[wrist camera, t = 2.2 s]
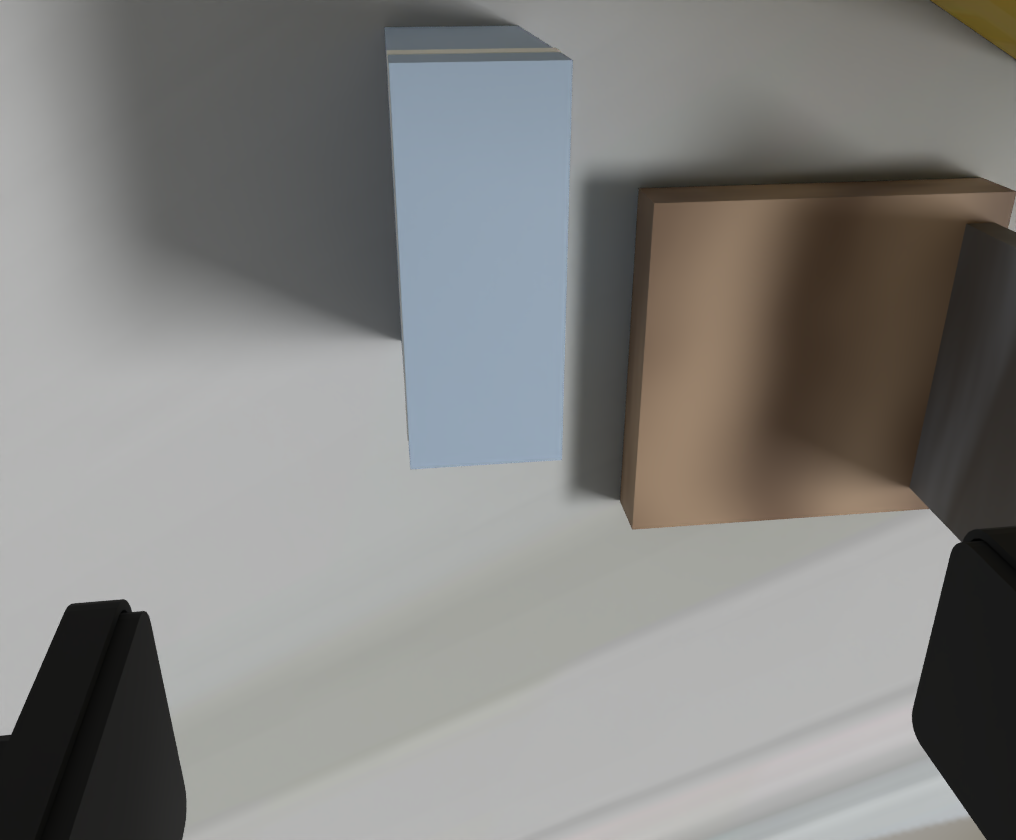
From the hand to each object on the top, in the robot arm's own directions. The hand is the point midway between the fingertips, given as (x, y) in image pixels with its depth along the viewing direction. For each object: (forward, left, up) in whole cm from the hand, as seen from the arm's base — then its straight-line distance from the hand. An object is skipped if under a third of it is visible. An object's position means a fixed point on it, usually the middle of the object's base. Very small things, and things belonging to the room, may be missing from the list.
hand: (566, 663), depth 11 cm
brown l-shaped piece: (-12, +6, -22) cm, 26 cm away
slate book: (0, 0, -23) cm, 23 cm away
